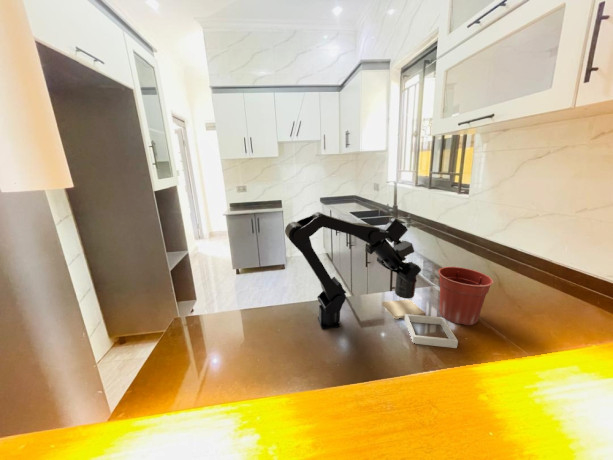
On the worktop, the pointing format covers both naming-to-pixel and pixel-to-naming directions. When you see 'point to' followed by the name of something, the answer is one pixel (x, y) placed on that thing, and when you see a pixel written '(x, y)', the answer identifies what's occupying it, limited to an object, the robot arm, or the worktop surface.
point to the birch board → (402, 308)
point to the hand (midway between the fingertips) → (409, 277)
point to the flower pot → (462, 294)
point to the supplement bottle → (404, 287)
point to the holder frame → (432, 341)
